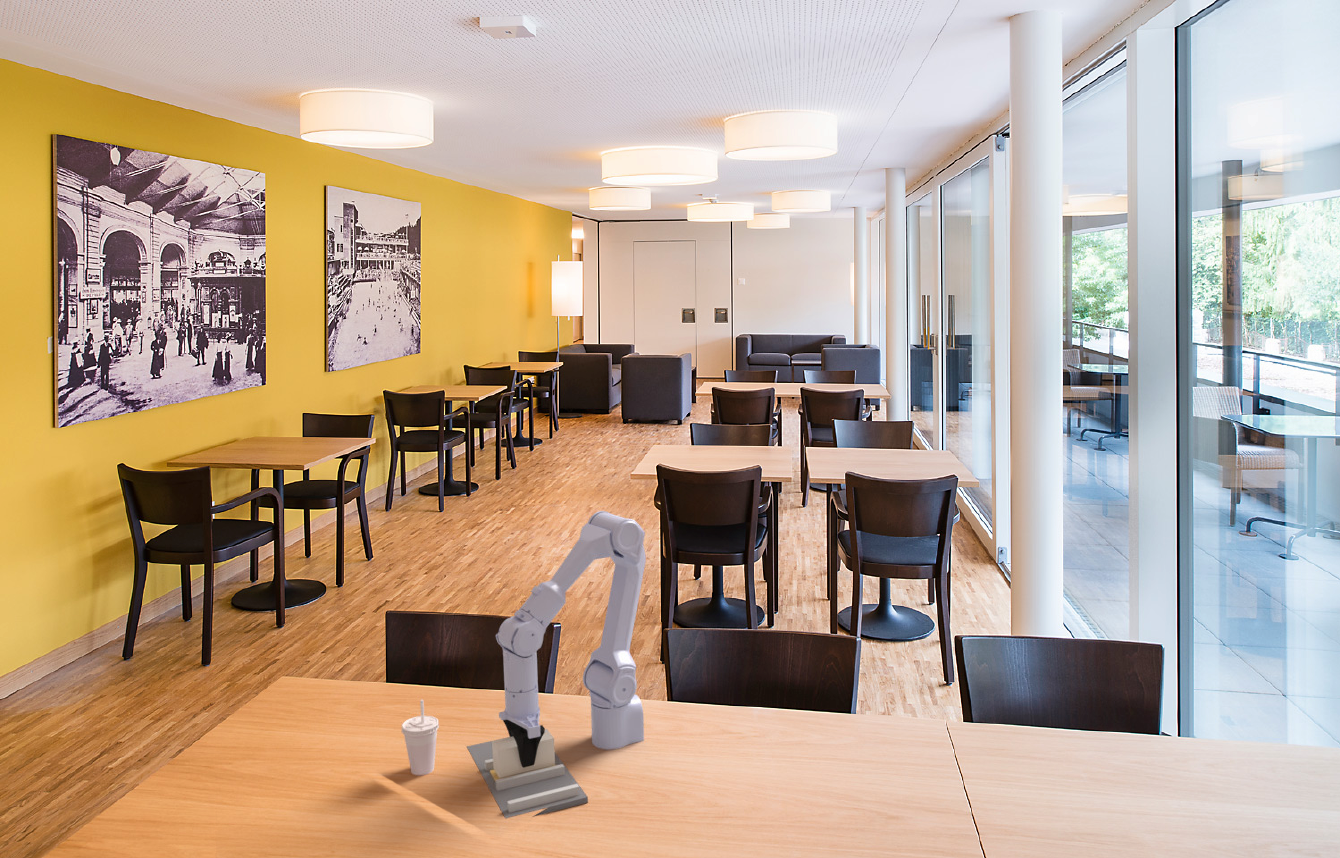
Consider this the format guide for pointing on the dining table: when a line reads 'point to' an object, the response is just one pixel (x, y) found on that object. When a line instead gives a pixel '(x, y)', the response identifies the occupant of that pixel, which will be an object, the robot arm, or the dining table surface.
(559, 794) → the grey ridged board
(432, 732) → the smoothie
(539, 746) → the frame block
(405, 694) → the dining table surface
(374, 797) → the dining table surface
